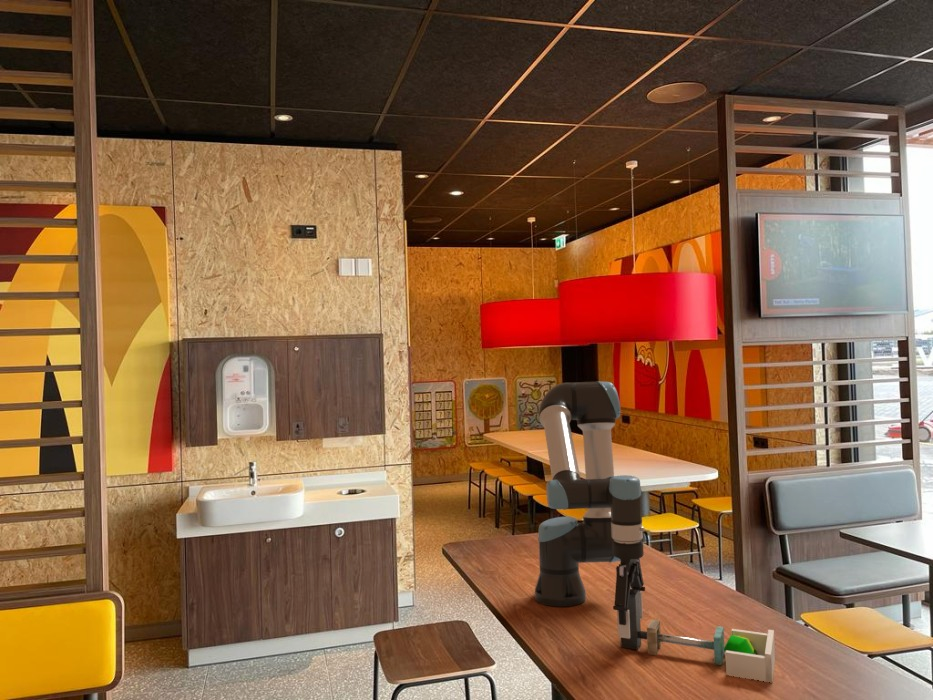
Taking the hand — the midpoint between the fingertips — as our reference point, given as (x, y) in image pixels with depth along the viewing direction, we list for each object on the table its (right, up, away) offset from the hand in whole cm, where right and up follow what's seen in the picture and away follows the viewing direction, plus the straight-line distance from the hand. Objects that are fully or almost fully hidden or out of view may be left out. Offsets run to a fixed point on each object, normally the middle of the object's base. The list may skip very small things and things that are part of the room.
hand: (631, 627), depth 163 cm
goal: (+24, -3, -12) cm, 27 cm away
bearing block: (+5, -4, -3) cm, 7 cm away
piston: (+9, -4, -4) cm, 10 cm away
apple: (+23, -4, -10) cm, 25 cm away
